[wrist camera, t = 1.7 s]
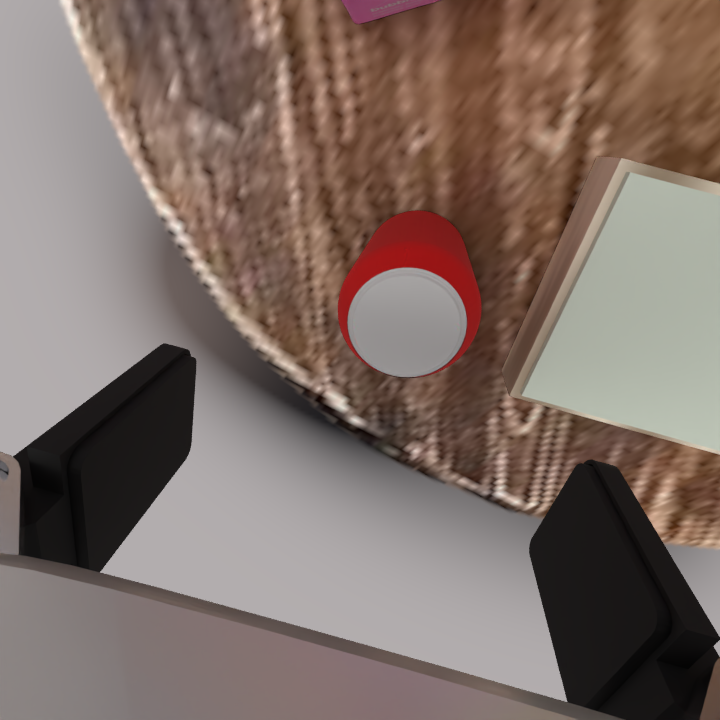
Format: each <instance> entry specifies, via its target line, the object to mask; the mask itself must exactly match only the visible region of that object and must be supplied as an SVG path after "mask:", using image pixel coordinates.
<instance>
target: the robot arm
mask: <svg viewBox="0 0 720 720" xmlns="http://www.w3.org/2000/svg"><path fill="white" fill-rule="evenodd" d="M195 377H196V359H195V358H194V357H191V354H190V351H189V350H187V349H184V348H180V347H177V346H173V345H169V344H162V345H160V346H159V347H158V348H156V349H155V350H154V351H152V352H151V353H150V354H148V355H147V356H146V357H144V358H143V359H142V360H140V361H139V362H138V363H137V364H135V365H134V366H132V367H131V368H130V369H128V370H127V371H126V372H124V373H123V374H122V375H120V376H119V377H118V378H117V379H115V380H114V381H113V382H111V383H110V384H109V385H107V386H106V387H105V388H103V389H102V390H101V391H99V392H98V393H97V394H95V395H94V396H93V397H91V398H90V399H89V400H87V401H86V402H85V403H83V404H82V405H81V406H79V407H78V408H77V409H75V410H74V411H73V412H71V413H70V414H69V415H68V416H66V417H65V418H64V419H62V420H61V421H60V422H58V423H57V424H56V425H54V426H53V427H52V428H51V429H49V430H48V431H46V432H45V433H44V434H42V435H41V436H40V437H39V438H37V439H36V440H34V441H33V442H32V443H31V444H29V445H28V446H27V447H25V448H24V449H23V450H21V451H20V452H19V453H17V454H16V455H15V456H13V457H12V456H11V455H8V454H5V453H3V452H0V720H720V657H719V655H718V654H717V652H716V650H715V649H714V647H713V646H714V645H715V644H716V643H717V642H718V641H719V640H720V637H719V636H718V634H717V632H716V630H715V629H714V627H713V625H712V624H711V622H710V620H709V619H708V617H707V615H706V614H705V612H704V611H703V609H702V607H701V605H700V604H699V602H698V600H697V599H696V597H695V595H694V594H693V592H692V590H691V589H690V587H689V585H688V584H687V582H686V580H685V579H684V577H683V575H682V574H681V572H680V571H679V569H678V567H677V566H676V564H675V562H674V561H673V559H672V557H671V555H670V554H669V552H668V550H667V549H666V547H665V545H664V544H663V542H662V540H661V539H660V537H659V535H658V534H657V532H656V530H655V529H654V527H653V525H652V524H651V522H650V521H649V519H648V517H647V516H646V514H645V512H644V511H643V509H642V507H641V506H640V504H639V502H638V501H637V499H636V497H635V496H634V494H633V492H632V491H631V489H630V487H629V486H628V484H627V482H626V481H625V479H624V477H623V476H622V474H621V472H620V471H619V469H618V468H617V467H615V466H613V465H609V464H606V463H602V462H598V461H595V460H587V461H586V462H585V463H584V464H582V463H580V464H578V465H577V466H576V467H575V468H574V470H573V471H572V473H571V475H570V476H569V478H568V480H567V481H566V483H565V485H564V486H563V488H562V490H561V491H560V493H559V494H558V496H557V498H556V499H555V501H554V503H553V504H552V506H551V508H550V509H549V511H548V513H547V514H546V516H545V518H544V519H543V521H542V522H541V524H540V526H539V527H538V529H537V531H536V533H535V534H534V536H533V537H532V539H531V542H530V547H529V553H530V558H531V562H532V565H533V570H534V573H535V577H536V581H537V585H538V589H539V593H540V597H541V601H542V605H543V608H544V612H545V616H546V620H547V624H548V628H549V632H550V636H551V640H552V643H553V647H554V651H555V655H556V659H557V663H558V667H559V671H560V674H561V678H562V682H563V686H564V690H565V694H566V698H567V701H568V702H564V701H561V700H557V699H554V698H550V697H547V696H543V695H540V694H536V693H533V692H529V691H526V690H522V689H519V688H515V687H512V686H508V685H505V684H502V683H498V682H495V681H491V680H487V679H484V678H481V677H477V676H474V675H470V674H467V673H463V672H460V671H456V670H452V669H449V668H446V667H442V666H439V665H435V664H432V663H428V662H424V661H421V660H417V659H413V658H410V657H407V656H403V655H399V654H396V653H392V652H389V651H385V650H382V649H378V648H375V647H371V646H368V645H364V644H360V643H356V642H353V641H350V640H346V639H343V638H339V637H335V636H332V635H328V634H325V633H321V632H318V631H314V630H311V629H307V628H303V627H300V626H296V625H292V624H289V623H286V622H281V621H278V620H274V619H271V618H267V617H264V616H260V615H256V614H253V613H249V612H245V611H241V610H238V609H235V608H231V607H227V606H224V605H220V604H216V603H213V602H209V601H205V600H202V599H198V598H195V597H191V596H187V595H184V594H180V593H176V592H173V591H169V590H165V589H162V588H158V587H154V586H150V585H146V584H143V583H139V582H135V581H131V580H127V579H123V578H119V577H115V576H111V575H107V574H104V573H100V571H101V570H102V569H103V567H104V566H105V565H106V563H107V562H108V561H109V560H110V558H111V557H112V555H113V554H114V553H115V551H116V550H117V549H118V548H119V546H120V545H121V544H122V542H123V541H124V540H125V539H126V537H127V536H128V535H129V533H130V532H131V531H132V529H133V528H134V527H135V525H136V524H137V523H138V521H139V520H140V519H141V517H142V516H143V515H144V514H145V512H146V511H147V509H148V508H149V507H150V506H151V504H152V503H153V502H154V500H155V499H156V498H157V496H158V495H159V494H160V493H161V491H162V490H163V489H164V487H165V486H166V485H167V483H168V482H169V481H170V479H171V478H172V477H173V475H174V474H175V472H176V471H177V470H178V469H179V468H180V466H181V465H182V464H183V462H184V461H185V460H186V458H187V456H188V454H189V452H190V448H191V441H192V425H193V410H194V394H195Z"/></svg>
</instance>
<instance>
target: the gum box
mask: <svg viewBox="0 0 720 720" xmlns="http://www.w3.org/2000/svg"><path fill="white" fill-rule="evenodd" d="M341 1H342V2H343V4H344V6H345V7H346V9H347V11H348V13H349V15H350V16H351V18H352V20H353V22H354V23H356V24H361V23H365V22H369V21H372V20H376V19H379V18H382V17H386V16H389V15H392V14H395V13H399V12H402V11H405V10H409V9H412V8H416V7H419V6H423V5H427V4H431V3H434V2H437V1H440V0H341Z"/></svg>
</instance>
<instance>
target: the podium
mask: <svg viewBox="0 0 720 720" xmlns="http://www.w3.org/2000/svg"><path fill="white" fill-rule="evenodd" d="M502 374H503V377H504V380H505V384H506V387H507V390H508V393H509V396H511V397H515V398H518V399H522V400H525V401H529V402H533V403H536V404H540V405H543V406H547V407H551V408H554V409H558V410H561V411H565V412H569V413H572V414H576V415H579V416H583V417H587V418H590V419H594V420H597V421H601V422H604V423H608V424H612V425H615V426H619V427H622V428H626V429H630V430H633V431H637V432H640V433H644V434H648V435H651V436H655V437H658V438H662V439H666V440H669V441H673V442H676V443H680V444H683V445H687V446H691V447H694V448H698V449H701V450H705V451H709V452H712V453H716V454H719V455H720V184H719V183H715V182H711V181H707V180H703V179H699V178H696V177H692V176H688V175H684V174H680V173H676V172H673V171H669V170H665V169H661V168H657V167H654V166H650V165H646V164H642V163H638V162H634V161H631V160H627V159H623V158H614V157H600V156H597V157H596V160H595V162H594V164H593V166H592V169H591V171H590V173H589V175H588V178H587V180H586V182H585V184H584V187H583V189H582V191H581V193H580V196H579V198H578V200H577V202H576V205H575V207H574V209H573V211H572V213H571V216H570V218H569V220H568V222H567V225H566V227H565V229H564V231H563V234H562V236H561V238H560V240H559V243H558V245H557V247H556V249H555V252H554V254H553V256H552V258H551V261H550V263H549V265H548V267H547V270H546V272H545V274H544V276H543V278H542V281H541V283H540V285H539V287H538V290H537V292H536V294H535V296H534V299H533V301H532V303H531V305H530V308H529V310H528V312H527V314H526V317H525V319H524V321H523V323H522V326H521V328H520V330H519V332H518V334H517V337H516V339H515V341H514V343H513V346H512V348H511V350H510V352H509V355H508V357H507V359H506V361H505V364H504V366H503V368H502Z"/></svg>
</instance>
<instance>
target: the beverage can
mask: <svg viewBox="0 0 720 720" xmlns="http://www.w3.org/2000/svg"><path fill="white" fill-rule="evenodd" d="M338 319H339V324H340V328H341V331H342V334H343V337H344V339H345V341H346V342H347V344H348V346H349V347H350V349H351V350H352V351H353V353H354V354H355V355H356V356H357V357H358V358H359V359H360V360H361V361H362V362H364V363H365V364H366V365H368V366H369V367H371V368H372V369H374V370H376V371H378V372H381V373H383V374H386V375H390V376H394V377H400V378H417V377H423V376H427V375H431V374H434V373H437V372H439V371H441V370H443V369H445V368H447V367H448V366H450V365H451V364H453V363H454V362H455V361H456V360H458V359H459V358H460V357H461V356H462V355H463V354H464V353H465V351H466V350H467V349H468V347H469V346H470V344H471V343H472V341H473V339H474V337H475V335H476V333H477V330H478V327H479V323H480V319H481V297H480V292H479V288H478V285H477V282H476V279H475V276H474V272H473V269H472V266H471V263H470V260H469V257H468V254H467V251H466V247H465V244H464V242H463V239H462V237H461V235H460V233H459V232H458V230H457V229H456V228H455V227H454V226H453V225H452V224H451V223H450V222H449V221H448V220H446V219H445V218H443V217H441V216H439V215H437V214H435V213H431V212H427V211H408V212H404V213H401V214H398V215H396V216H394V217H392V218H390V219H388V220H387V221H386V222H384V223H383V224H382V225H381V226H380V227H379V228H378V229H377V231H376V232H375V233H374V235H373V236H372V238H371V239H370V241H369V242H368V244H367V246H366V247H365V249H364V250H363V252H362V253H361V255H360V256H359V258H358V259H357V261H356V263H355V264H354V266H353V267H352V269H351V270H350V272H349V273H348V275H347V277H346V279H345V281H344V283H343V285H342V288H341V291H340V295H339V301H338Z"/></svg>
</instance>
